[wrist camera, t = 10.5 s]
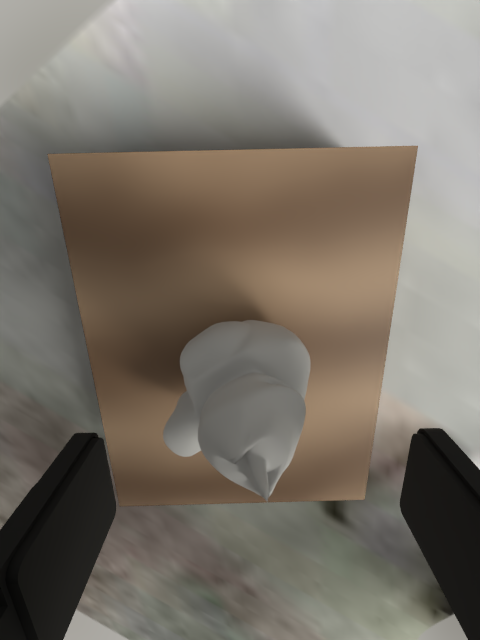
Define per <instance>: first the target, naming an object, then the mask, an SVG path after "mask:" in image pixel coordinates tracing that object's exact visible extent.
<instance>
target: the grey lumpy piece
mask: <svg viewBox="0 0 480 640" xmlns="http://www.w3.org/2000/svg"><path fill="white" fill-rule="evenodd" d="M180 368H181V371H182V374H183V376H184V383H185V386H186V389H187V391H186V392H184V393H183V394H182V395H181V397H180V398H179V400H178V402H177V406H176V408H175V410H174V412H173V413H172V415H171V416H170V418H169V419H168V421H167V423H166V425H165V428H164V431H163V439H164V442H165V444H166V445H167V447H168V448H169V449H170V450H171V451H173V452H174V453H175V454H177V455H179V456H183V457H189V456H192V455H194V454H196V453H198V452H199V451H202V453H203V454H204V456H205V458H206V459H207V460H208V461H209V462H210V464H211V465H212V466H213V467H214V468H215V469H216V470H217V471H219V472H220V473H221V474H222V475H223V476H225V477H226V478H228V479H229V480H231V481H233V482H235V483H237V484H239V485H240V486H242V487H244V488H246V489H249V490H251V491H253V492H255V493H256V494H258V495H260V496H262V497H263V498H264V499H265V500H266V501H267V502H268V497H269V496H270V495H271V494H272V492H273V490H274V488H275V486H276V484H277V482H278V480H279V478H280V477H281V475H282V473H283V472H284V471H285V470H286V468H287V467H288V466H289V464H290V462H291V460H292V458H293V456H294V452H295V449H296V447H297V444H298V441H299V438H300V435H301V432H302V429H303V425H304V420H305V415H306V405H305V401H304V399H305V395H306V391H307V385H308V379H309V374H310V356H309V353H308V351H307V349H306V347H305V346H304V344H303V343H302V341H301V340H300V339H299V338H298V337H297V336H296V335H295V334H294V333H293V332H291V331H289V330H288V329H286V328H285V327H283V326H280V325H276V324H272V323H268V322H263V321H257V320H246V321H243V322H239V321H228V322H220V323H216V324H214V325H212V326H210V327H208V328H207V329H206V330H204V331H203V332H201V333H200V334H198V335H197V336H196V337H194V338H193V339H191V340H190V341H189V342H188V343H187V344H186V346H185V348H184V349H183V351H182V353H181V356H180Z"/></svg>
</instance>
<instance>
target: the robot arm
mask: <svg viewBox="0 0 480 640" xmlns="http://www.w3.org/2000/svg"><path fill="white" fill-rule="evenodd" d="M400 508H401V512H402V514H403V517H404V518H405V520H406V522H407V524H408V526H409V528H410V530H411V532H412V534H413V536H414V538H415V539H416V541H417V543H418V545H419V547H420V549H421V551H422V553H423V555H424V557H425V558H426V560H427V562H428V564H429V566H430V568H431V570H432V572H433V574H434V576H435V578H436V579H437V581H438V583H439V585H440V587H441V589H442V591H443V593H444V595H445V597H446V598H447V600H448V602H449V604H450V606H451V608H452V610H453V612H454V614H455V616H456V618H457V619H458V621H459V623H460V625H461V627H462V629H463V631H464V632H465V635H466V637H467V638H468V640H480V470H479V468H478V467H477V466H476V465H475V464H474V463H473V462H472V461H471V460H470V459H469V458H468V456H467V455H466V454H465V453H464V452H463V451H462V450H461V449H460V448H459V447H458V445H457V444H456V443H455V442H454V441H453V440H452V439H451V438H450V437H449V436H448V435H447V433H446V432H445V431H444V430H442V429H440V428H427V429H419V430H418V432H417V434H413V436H412V439H411V444H410V450H409V455H408V461H407V466H406V471H405V477H404V482H403V488H402V493H401V498H400ZM115 512H116V501H115V496H114V491H113V486H112V481H111V476H110V470H109V465H108V460H107V455H106V450H105V445H104V440H103V439H102V438H99V437H98V435H97V433H76V434H74V435H73V436H72V438H71V439H70V440H69V442H68V443H67V444H66V446H65V447H64V448H63V450H62V451H61V452H60V454H59V455H58V456H57V458H56V459H55V460H54V462H53V463H52V464H51V466H50V467H49V468H48V469H47V471H46V472H45V473H44V475H43V476H42V477H41V479H40V480H39V481H38V483H36V484H35V486H34V487H33V488H32V489H31V490H30V492H29V493H28V494H27V495H26V497H25V498H24V499H23V501H22V502H21V503H20V505H19V506H18V507H17V509H16V510H15V511H14V513H13V514H12V515H11V517H10V518H9V519H8V521H7V522H6V523H5V525H4V526H3V527H2V528H1V530H0V640H63V639H64V636H65V634H66V632H67V629H68V627H69V624H70V622H71V620H72V617H73V615H74V612H75V610H76V608H77V605H78V603H79V600H80V598H81V596H82V593H83V591H84V589H85V586H86V584H87V581H88V579H89V577H90V574H91V572H92V569H93V567H94V565H95V562H96V560H97V557H98V555H99V553H100V550H101V548H102V545H103V543H104V541H105V538H106V536H107V534H108V531H109V529H110V526H111V524H112V522H113V519H114V516H115Z"/></svg>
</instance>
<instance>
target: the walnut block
mask: <svg viewBox="0 0 480 640" xmlns="http://www.w3.org/2000/svg"><path fill="white" fill-rule="evenodd" d="M417 149H418V146H386V147H340V148H295V149H249V150H204V151H158V152H113V153H67V154H48V159H49V164H50V169H51V174H52V179H53V184H54V189H55V193H56V198H57V203H58V208H59V213H60V218H61V223H62V228H63V232H64V237H65V242H66V247H67V252H68V257H69V262H70V267H71V271H72V276H73V281H74V286H75V291H76V296H77V301H78V306H79V310H80V315H81V320H82V325H83V330H84V335H85V340H86V345H87V349H88V354H89V359H90V364H91V369H92V374H93V379H94V384H95V388H96V393H97V398H98V403H99V408H100V413H101V418H102V423H103V427H104V432H105V437H106V442H107V447H108V452H109V457H110V462H111V467H112V471H113V476H114V481H115V486H116V491H117V496H118V501H119V506H152V505H188V504H224V503H260V502H267V501H266V500H265V499H264V498H263V497H262V496H260V495H258V494H256V493H255V492H253V491H251V490H249V489H246V488H244V487H242V486H240V485H239V484H237V483H235V482H233V481H231V480H229V479H228V478H226V477H225V476H223V475H222V474H221V473H220V472H219V471H217V470H216V469H215V468H214V467H213V466H212V465H211V464H210V462H209V461H208V460H207V459H206V458H205V456H204V454H203V453H202V451H199V452H198V453H196V454H194V455H192V456H189V457H183V456H179V455H177V454H175V453H174V452H173V451H171V450H170V449H169V448H168V447H167V445H166V444H165V442H164V439H163V431H164V428H165V425H166V423H167V421H168V419H169V418H170V416H171V415H172V413H173V412H174V410H175V408H176V406H177V402H178V400H179V398H180V397H181V395H182V394H183V393H184V392H186V391H187V389H186V386H185V383H184V376H183V374H182V371H181V368H180V356H181V353H182V351H183V349H184V348H185V346H186V344H187V343H188V342H189V341H190V340H191V339H193V338H194V337H196V336H197V335H198V334H200V333H201V332H203V331H204V330H206V329H207V328H208V327H210V326H212V325H214V324H216V323H220V322H228V321H239V322H243V321H246V320H257V321H263V322H268V323H272V324H276V325H280V326H283V327H285V328H286V329H288V330H289V331H291V332H293V333H294V334H295V335H296V336H297V337H298V338H299V339H300V340H301V341H302V343H303V344H304V346H305V347H306V349H307V351H308V353H309V356H310V374H309V379H308V385H307V391H306V395H305V399H304V401H305V405H306V415H305V420H304V425H303V429H302V432H301V435H300V438H299V441H298V444H297V447H296V449H295V452H294V456H293V458H292V460H291V462H290V464H289V466H288V467H287V468H286V470H285V471H284V472H283V473H282V475H281V477H280V478H279V480H278V482H277V484H276V486H275V488H274V490H273V492H272V494H271V495H270V496H269V497H268V502H296V501H332V500H364V499H365V492H366V486H367V479H368V473H369V466H370V459H371V453H372V446H373V440H374V433H375V426H376V420H377V413H378V407H379V400H380V393H381V387H382V380H383V374H384V367H385V360H386V354H387V347H388V341H389V334H390V327H391V321H392V314H393V308H394V301H395V294H396V288H397V281H398V274H399V268H400V261H401V255H402V248H403V241H404V235H405V228H406V222H407V215H408V208H409V202H410V195H411V189H412V182H413V175H414V169H415V162H416V156H417Z"/></svg>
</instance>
